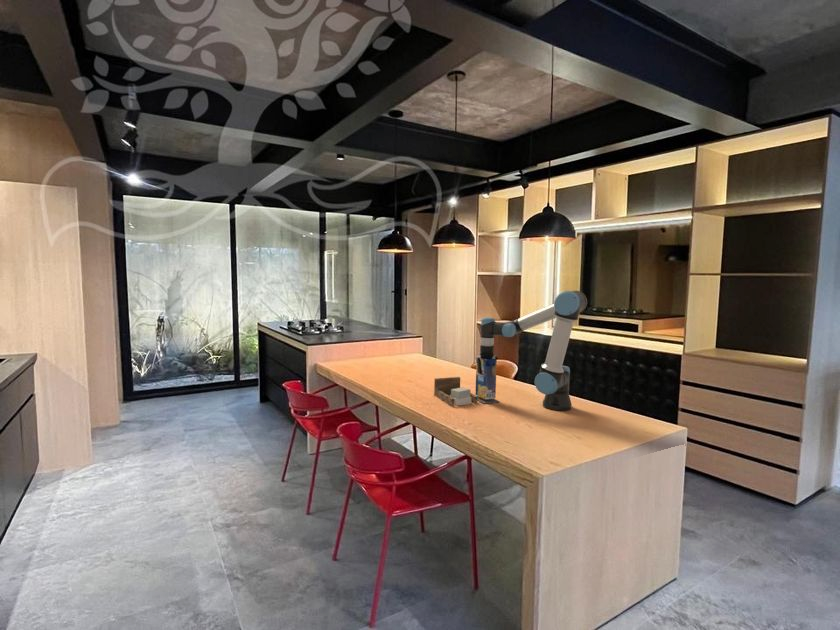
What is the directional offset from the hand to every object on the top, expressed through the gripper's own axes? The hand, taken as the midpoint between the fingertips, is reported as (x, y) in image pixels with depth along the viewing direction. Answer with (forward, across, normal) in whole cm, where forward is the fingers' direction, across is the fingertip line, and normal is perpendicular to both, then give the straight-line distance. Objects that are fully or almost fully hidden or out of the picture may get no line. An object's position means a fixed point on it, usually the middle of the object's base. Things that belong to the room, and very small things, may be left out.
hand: (485, 385), depth 259 cm
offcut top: (+5, +16, +1) cm, 17 cm away
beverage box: (+6, 0, 0) cm, 6 cm away
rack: (+8, +16, -6) cm, 19 cm away
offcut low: (+9, +16, +1) cm, 18 cm away
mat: (+8, 0, 0) cm, 8 cm away
